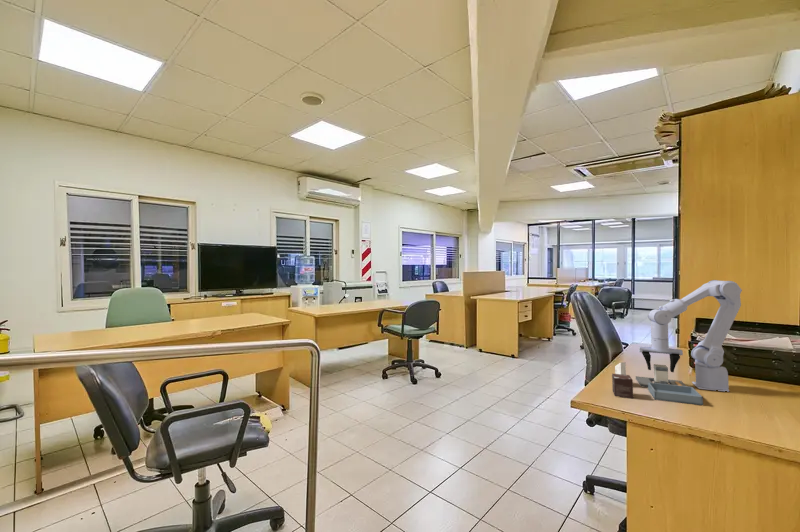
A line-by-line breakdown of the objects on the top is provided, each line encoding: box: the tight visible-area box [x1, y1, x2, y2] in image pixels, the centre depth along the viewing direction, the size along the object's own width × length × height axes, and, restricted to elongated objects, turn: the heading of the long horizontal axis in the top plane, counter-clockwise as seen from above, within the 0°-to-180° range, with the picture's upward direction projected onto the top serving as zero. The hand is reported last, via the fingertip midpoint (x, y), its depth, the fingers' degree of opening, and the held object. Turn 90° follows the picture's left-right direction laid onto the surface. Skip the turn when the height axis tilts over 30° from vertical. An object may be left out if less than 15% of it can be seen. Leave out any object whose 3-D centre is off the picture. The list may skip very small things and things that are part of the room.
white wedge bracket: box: [614, 361, 627, 375], centre depth 142 cm, size 4×10×9 cm
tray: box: [647, 382, 704, 406], centre depth 127 cm, size 14×11×3 cm
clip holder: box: [635, 375, 687, 388], centre depth 140 cm, size 16×11×3 cm
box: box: [611, 373, 634, 399], centre depth 131 cm, size 6×6×7 cm
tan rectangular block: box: [653, 363, 669, 383], centre depth 140 cm, size 4×4×8 cm
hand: (660, 370), depth 140 cm, fingers open, 7 cm apart
